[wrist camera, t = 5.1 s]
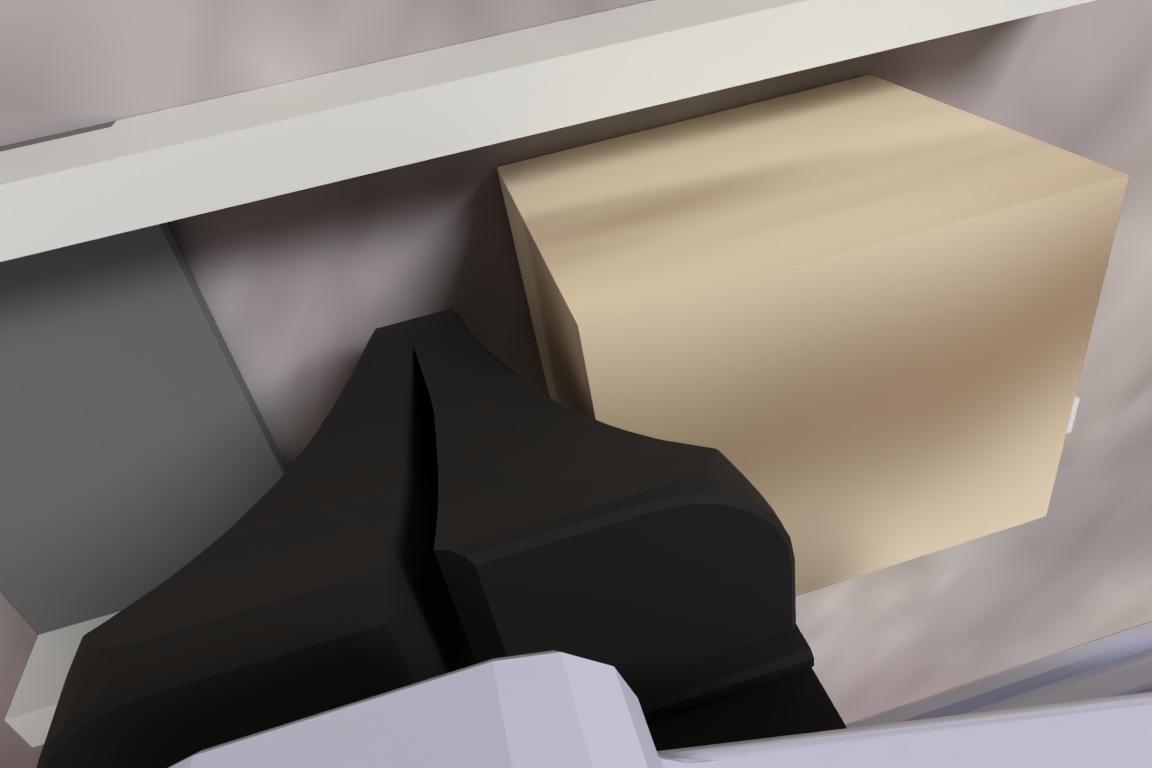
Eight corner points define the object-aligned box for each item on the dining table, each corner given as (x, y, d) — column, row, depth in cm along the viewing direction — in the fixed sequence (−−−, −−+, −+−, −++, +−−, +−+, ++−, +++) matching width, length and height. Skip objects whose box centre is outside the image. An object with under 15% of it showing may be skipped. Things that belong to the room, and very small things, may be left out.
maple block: (857, 342, 15) (1045, 516, 11) (556, 428, 15) (639, 645, 10) (870, 74, 12) (1128, 175, 8) (496, 167, 12) (577, 325, 8)
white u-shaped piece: (999, 377, 17) (1070, 432, 15) (67, 649, 15) (32, 746, 13) (1084, -96, 12) (1204, -91, 10) (-302, 214, 10) (-435, 284, 8)
